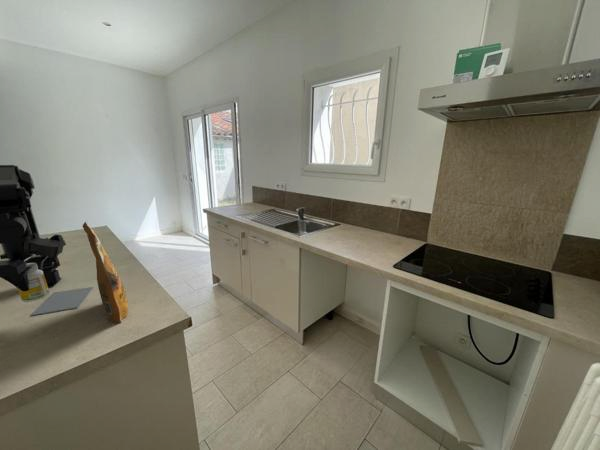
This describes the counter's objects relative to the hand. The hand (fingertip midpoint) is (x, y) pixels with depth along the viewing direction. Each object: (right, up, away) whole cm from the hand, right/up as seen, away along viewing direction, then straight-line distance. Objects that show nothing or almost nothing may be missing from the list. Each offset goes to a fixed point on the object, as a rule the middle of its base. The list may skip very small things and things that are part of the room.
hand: (32, 285), depth 67 cm
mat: (-3, -8, +13) cm, 15 cm away
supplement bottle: (0, -4, +1) cm, 4 cm away
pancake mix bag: (+17, -10, +8) cm, 21 cm away
